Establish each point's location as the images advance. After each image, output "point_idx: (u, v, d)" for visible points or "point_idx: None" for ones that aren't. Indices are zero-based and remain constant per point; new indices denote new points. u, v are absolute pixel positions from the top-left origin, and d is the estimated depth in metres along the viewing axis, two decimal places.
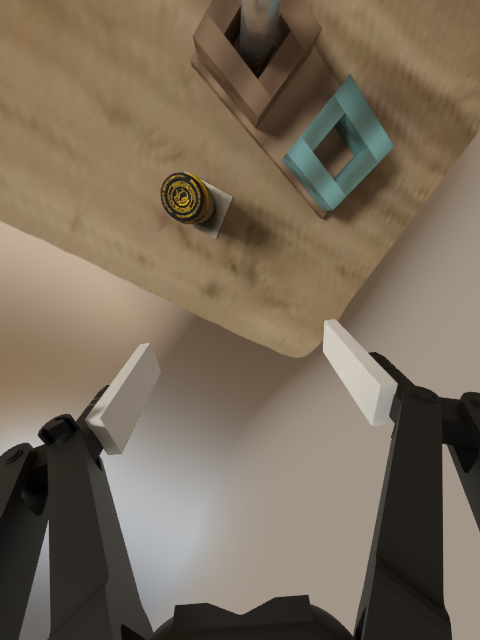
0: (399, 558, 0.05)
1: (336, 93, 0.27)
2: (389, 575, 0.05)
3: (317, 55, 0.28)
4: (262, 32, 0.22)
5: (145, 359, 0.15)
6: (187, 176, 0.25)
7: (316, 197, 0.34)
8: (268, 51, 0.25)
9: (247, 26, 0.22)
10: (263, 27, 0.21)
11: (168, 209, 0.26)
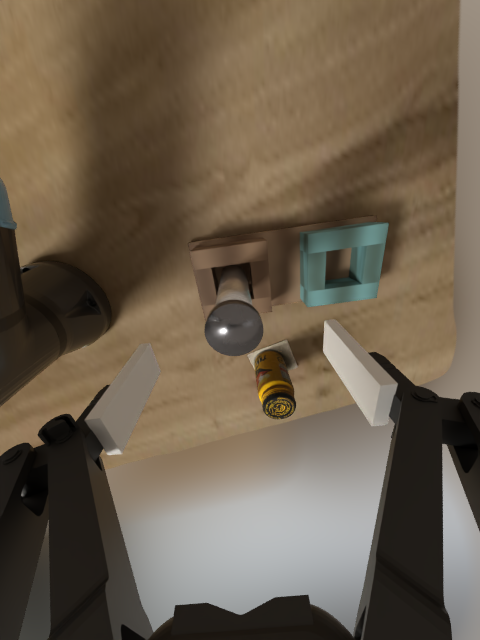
0: (400, 558, 0.05)
1: (309, 251, 0.29)
2: (390, 574, 0.05)
3: (268, 234, 0.32)
4: None
5: (145, 359, 0.15)
6: (274, 398, 0.32)
7: None
8: None
9: None
10: None
11: (277, 418, 0.34)
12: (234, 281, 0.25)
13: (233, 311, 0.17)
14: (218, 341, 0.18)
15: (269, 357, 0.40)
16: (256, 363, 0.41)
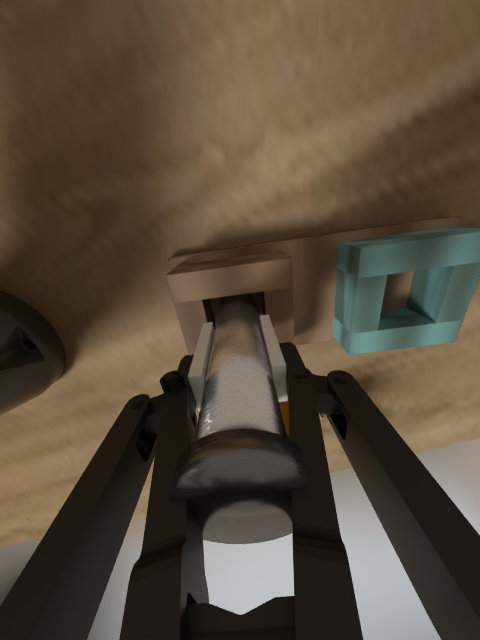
0: (308, 520, 0.06)
1: (359, 274, 0.18)
2: (304, 541, 0.05)
3: (290, 245, 0.21)
4: None
5: (211, 335, 0.17)
6: None
7: None
8: None
9: None
10: None
11: None
12: (239, 333, 0.14)
13: (242, 478, 0.06)
14: (203, 525, 0.07)
15: (285, 413, 0.29)
16: None
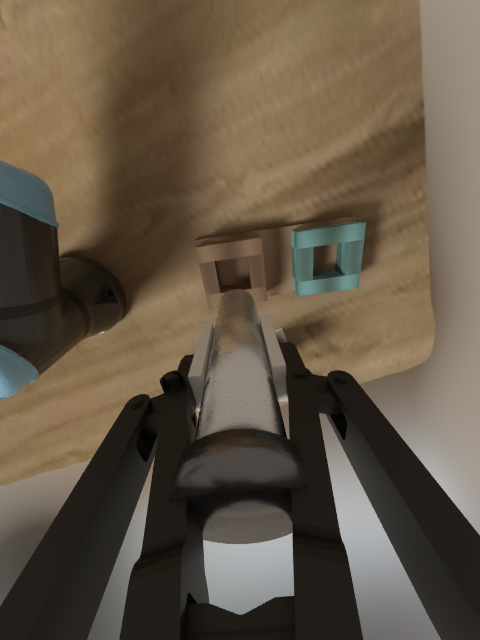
0: (309, 520, 0.06)
1: (298, 246, 0.34)
2: (304, 542, 0.05)
3: (263, 232, 0.36)
4: None
5: (211, 335, 0.17)
6: None
7: None
8: None
9: None
10: None
11: None
12: (238, 333, 0.14)
13: (242, 478, 0.06)
14: (203, 525, 0.07)
15: None
16: None
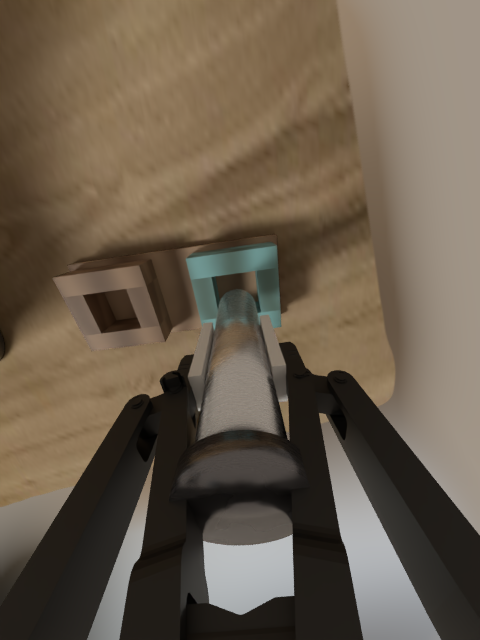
0: (308, 520, 0.06)
1: (191, 276, 0.25)
2: (304, 541, 0.05)
3: (156, 255, 0.28)
4: None
5: (212, 335, 0.17)
6: None
7: None
8: None
9: None
10: None
11: None
12: (239, 334, 0.14)
13: (242, 480, 0.06)
14: (204, 526, 0.07)
15: None
16: None
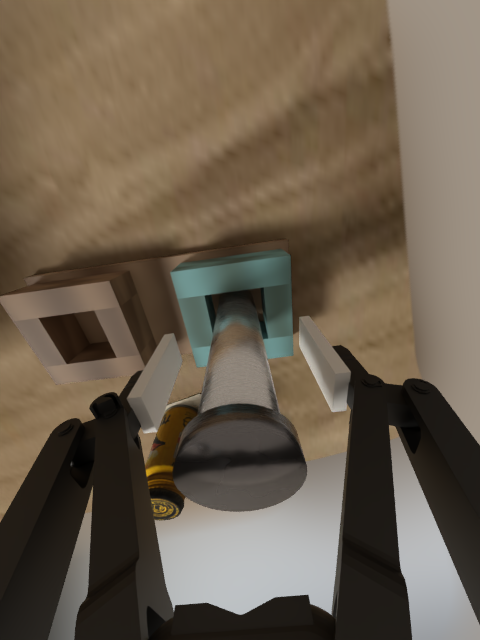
0: (362, 536, 0.05)
1: (178, 295, 0.19)
2: (354, 555, 0.05)
3: (135, 265, 0.22)
4: None
5: (171, 348, 0.16)
6: None
7: None
8: None
9: None
10: None
11: (159, 519, 0.24)
12: (237, 326, 0.15)
13: (239, 444, 0.07)
14: (205, 491, 0.08)
15: (172, 419, 0.30)
16: (160, 424, 0.32)
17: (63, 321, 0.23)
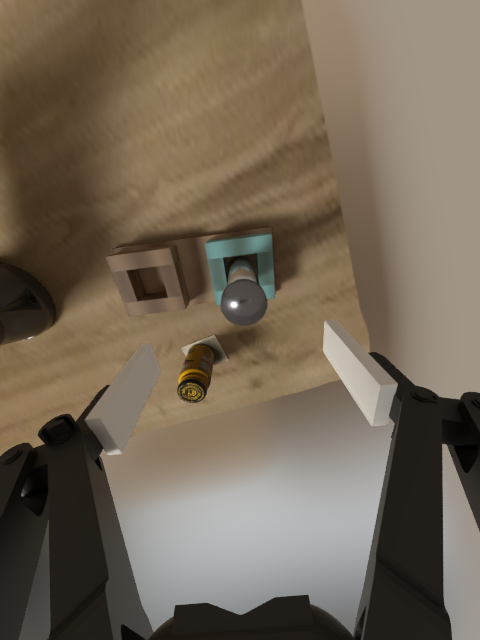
0: (399, 558, 0.05)
1: (208, 257, 0.34)
2: (389, 574, 0.05)
3: (180, 241, 0.37)
4: None
5: (145, 359, 0.15)
6: (184, 383, 0.37)
7: None
8: None
9: None
10: None
11: (191, 402, 0.39)
12: (242, 268, 0.29)
13: (244, 287, 0.22)
14: (231, 312, 0.23)
15: (196, 350, 0.45)
16: (187, 355, 0.46)
17: (135, 275, 0.37)
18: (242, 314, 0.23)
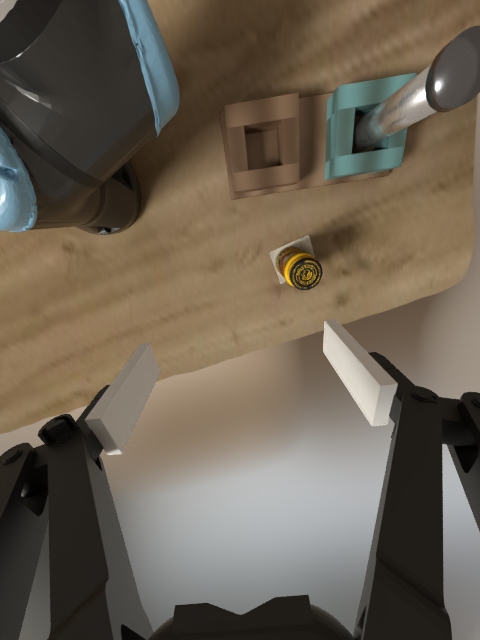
0: (399, 557, 0.05)
1: (338, 106, 0.30)
2: (389, 575, 0.05)
3: None
4: None
5: (145, 359, 0.15)
6: (301, 261, 0.33)
7: (374, 171, 0.35)
8: None
9: (384, 137, 0.29)
10: None
11: (303, 288, 0.35)
12: None
13: (476, 36, 0.18)
14: (446, 83, 0.19)
15: (292, 248, 0.41)
16: (279, 257, 0.42)
17: None
18: (458, 86, 0.19)
